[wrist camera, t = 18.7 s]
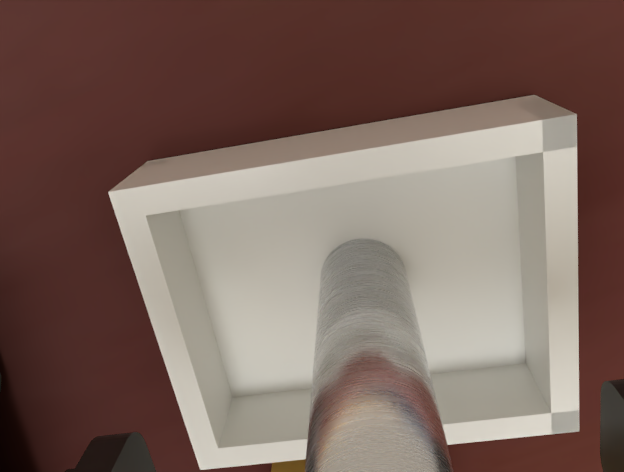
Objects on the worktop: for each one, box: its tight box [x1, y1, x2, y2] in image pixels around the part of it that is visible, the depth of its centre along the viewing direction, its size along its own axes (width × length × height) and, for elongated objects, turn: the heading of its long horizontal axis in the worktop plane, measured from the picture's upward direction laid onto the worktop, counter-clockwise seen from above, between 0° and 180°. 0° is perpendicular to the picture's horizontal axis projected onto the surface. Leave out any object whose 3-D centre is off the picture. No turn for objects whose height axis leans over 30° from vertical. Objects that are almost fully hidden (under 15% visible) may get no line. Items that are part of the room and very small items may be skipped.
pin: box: [305, 239, 454, 472], centre depth 11 cm, size 3×3×11 cm
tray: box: [108, 95, 579, 470], centre depth 15 cm, size 10×8×3 cm
